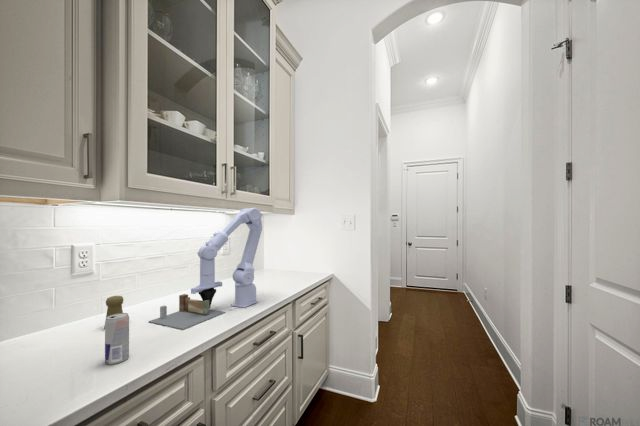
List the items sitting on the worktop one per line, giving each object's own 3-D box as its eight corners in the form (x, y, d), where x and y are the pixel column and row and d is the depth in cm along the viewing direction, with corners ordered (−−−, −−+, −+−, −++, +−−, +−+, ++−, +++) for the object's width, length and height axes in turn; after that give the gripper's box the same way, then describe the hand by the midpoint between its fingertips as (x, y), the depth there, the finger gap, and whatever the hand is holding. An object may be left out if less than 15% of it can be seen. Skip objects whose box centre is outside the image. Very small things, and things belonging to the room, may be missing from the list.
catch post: (163, 318, 110) (163, 305, 110) (166, 318, 109) (166, 305, 109) (160, 319, 108) (160, 306, 108) (162, 320, 107) (162, 307, 108)
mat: (193, 307, 123) (193, 306, 123) (225, 312, 115) (225, 311, 115) (148, 322, 105) (148, 321, 105) (182, 330, 97) (182, 329, 97)
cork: (113, 330, 98) (114, 299, 98) (99, 329, 99) (99, 298, 99) (128, 324, 104) (129, 294, 104) (115, 323, 105) (115, 293, 105)
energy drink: (113, 355, 79) (113, 313, 79) (133, 354, 79) (133, 312, 80) (99, 365, 73) (100, 319, 74) (121, 364, 74) (121, 318, 74)
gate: (188, 309, 117) (188, 297, 118) (209, 313, 112) (209, 300, 112) (184, 310, 116) (184, 298, 116) (205, 314, 110) (205, 301, 111)
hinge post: (184, 310, 119) (184, 294, 119) (188, 311, 118) (188, 294, 118) (179, 312, 117) (179, 295, 117) (183, 313, 116) (183, 296, 116)
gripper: (214, 270, 124) (214, 301, 124) (185, 276, 111) (185, 311, 111) (225, 271, 121) (225, 303, 121) (198, 278, 108) (198, 313, 108)
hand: (207, 307), depth 115 cm, fingers closed
